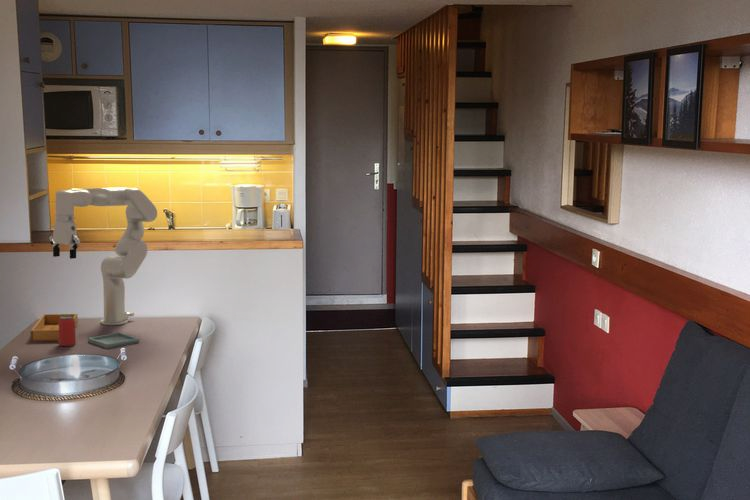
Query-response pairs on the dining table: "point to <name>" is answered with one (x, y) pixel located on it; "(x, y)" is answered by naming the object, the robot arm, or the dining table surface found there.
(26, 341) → the dining table surface
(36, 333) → the tray
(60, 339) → the beer can
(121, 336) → the slate tray
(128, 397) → the dining table surface
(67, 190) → the robot arm
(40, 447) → the dining table surface
